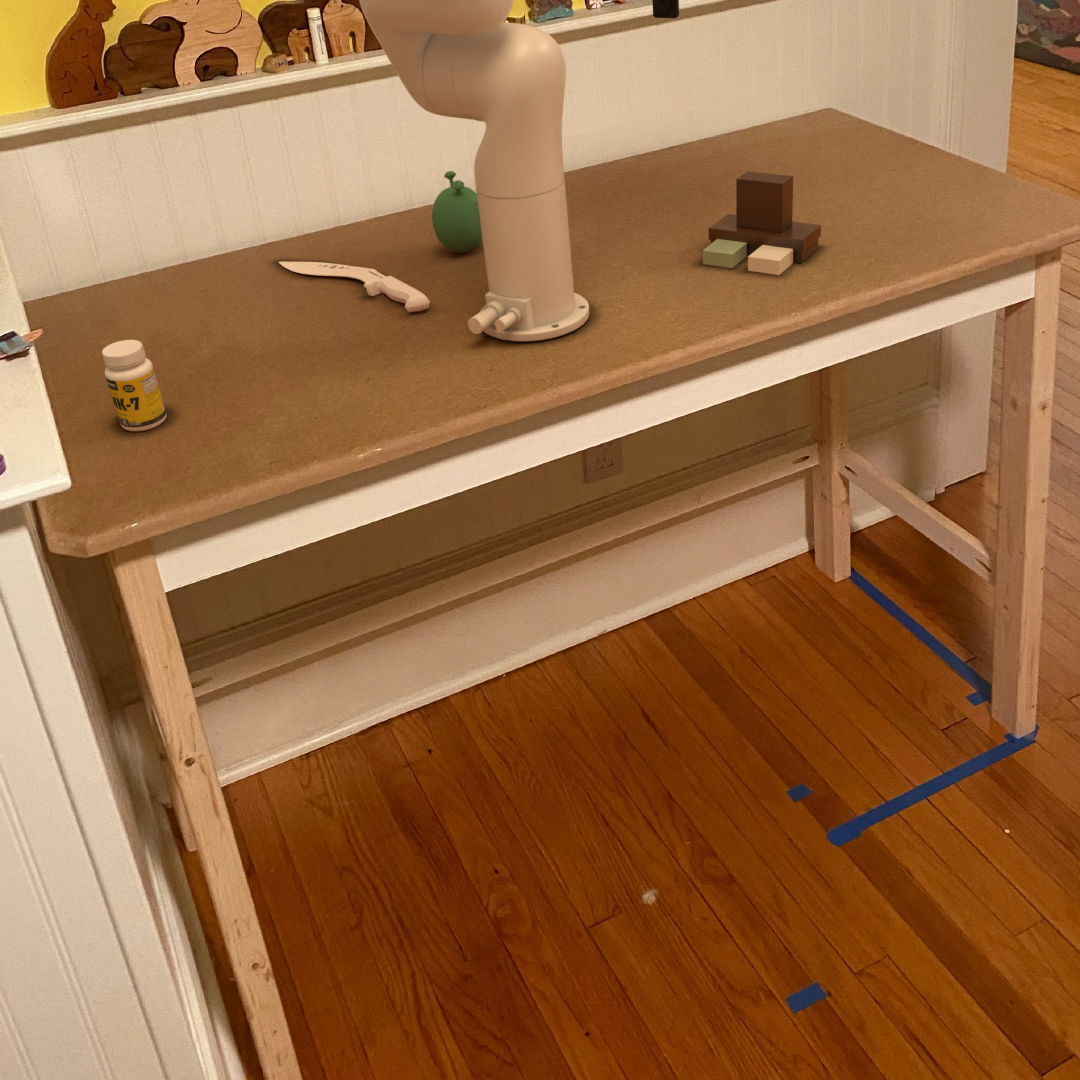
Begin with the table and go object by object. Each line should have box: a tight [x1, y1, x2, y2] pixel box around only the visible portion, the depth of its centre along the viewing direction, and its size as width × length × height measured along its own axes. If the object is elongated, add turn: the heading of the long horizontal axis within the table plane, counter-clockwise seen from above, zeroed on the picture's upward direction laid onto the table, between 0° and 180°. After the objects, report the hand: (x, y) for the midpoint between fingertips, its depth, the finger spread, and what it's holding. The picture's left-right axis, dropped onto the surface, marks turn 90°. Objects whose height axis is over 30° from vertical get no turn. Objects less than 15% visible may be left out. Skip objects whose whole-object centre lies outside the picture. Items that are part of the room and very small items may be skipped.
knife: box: [278, 261, 431, 313], centre depth 152 cm, size 30×2×8 cm
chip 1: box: [701, 239, 748, 269], centre depth 147 cm, size 4×4×2 cm
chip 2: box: [747, 245, 794, 276], centre depth 144 cm, size 4×4×2 cm
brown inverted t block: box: [708, 170, 822, 264], centre depth 147 cm, size 5×12×9 cm, turn 56°
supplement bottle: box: [101, 339, 168, 432], centre depth 124 cm, size 5×5×8 cm
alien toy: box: [431, 170, 483, 254], centre depth 156 cm, size 7×8×10 cm
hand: (686, 8), depth 145 cm, fingers open, 9 cm apart
